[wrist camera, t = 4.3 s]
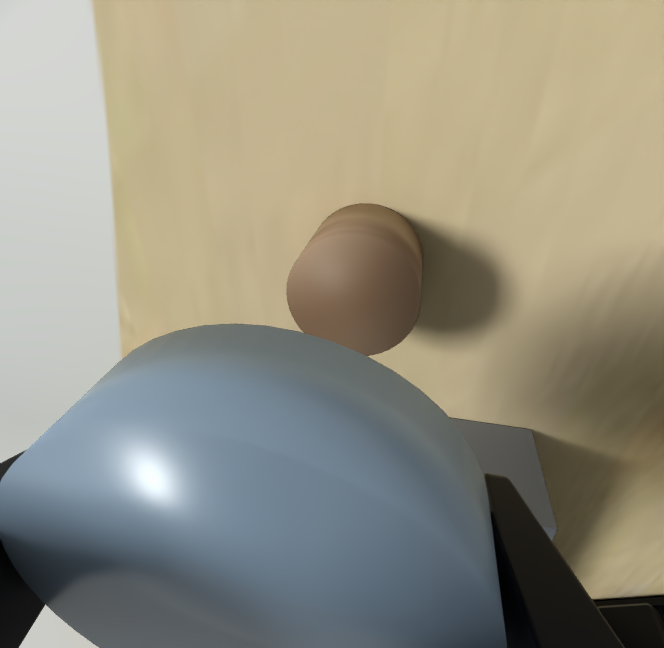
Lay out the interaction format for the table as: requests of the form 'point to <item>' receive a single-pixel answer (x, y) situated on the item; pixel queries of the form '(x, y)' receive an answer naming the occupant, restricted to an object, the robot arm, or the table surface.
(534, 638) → the robot arm
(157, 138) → the table surface
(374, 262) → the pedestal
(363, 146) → the table surface
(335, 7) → the table surface
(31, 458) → the disc
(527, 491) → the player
